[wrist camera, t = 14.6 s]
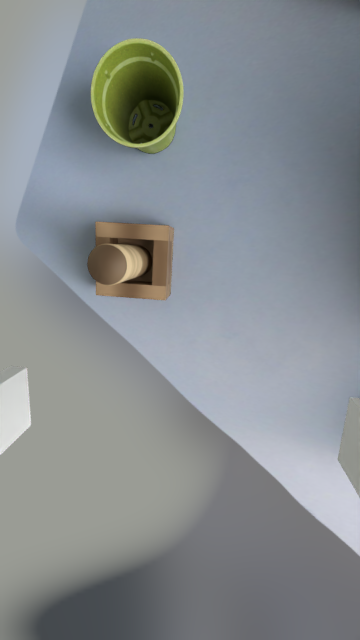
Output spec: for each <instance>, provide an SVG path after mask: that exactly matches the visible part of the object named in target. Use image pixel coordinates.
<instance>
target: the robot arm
mask: <svg viewBox="0 0 360 640" xmlns="http://www.w3.org/2000/svg"><path fill="white" fill-rule="evenodd" d="M30 426H31V416H30V402H29V389H28V375H27V367H18V366H9V367H7V368H5V369H4V370H2V371H0V455H1V454H2V453H3V452H4V451H5V450H6V449H7V448H8V447H9V446H10V445H11V444H12V443H13V442H14V441H15V440H16V439H17V438H18V437H19V436H20V435H21V434H22V433H23V432H25V430H27V429H28V428H29V427H30ZM338 461H339V463H340V464H341V466H342V468H343V470H344V471H345V473H346V475H347V476H348V478H349V480H350V482H351V483H352V485H353V487H354V488H355V490H356V492H357V494H358V495H359V497H360V398H351V397H350V399H349V404H348V409H347V414H346V419H345V424H344V429H343V434H342V439H341V445H340V450H339V455H338Z"/></svg>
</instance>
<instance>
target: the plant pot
mask: <svg viewBox="0 0 360 640" xmlns="http://www.w3.org/2000/svg"><path fill="white" fill-rule="evenodd" d="M91 103H92V108H93V112H94V115H95V117H96V119H97V121H98V123H99V125H100V126H101V128H102V129H103V131H104V132H105V133H106V134H107V135H108V136H109V137H110V138H111V139H113V140H114V141H116V142H117V143H119V144H122V145H124V146H127V147H132V148H138V149H139V150H141V151H143V152H145V153H151V154H153V153H157V152H160V151H162V150H164V149H165V148H167V147H168V146H169V144H170V143H171V142H172V140H173V138H174V135H175V130H176V123H177V121H178V118H179V116H180V113H181V109H182V104H183V82H182V77H181V74H180V70H179V68H178V66H177V64H176V62H175V60H174V59H173V57H172V56H171V55H170V54H169V52H168V51H167V50H166V49H164V48H163V47H162V46H160V45H159V44H157V43H155V42H153V41H150V40H147V39H128V40H125V41H122V42H120V43H118V44H116V45H114V46H113V47H112V48H111V49H109V50H108V51H107V52H106V53H105V54H104V56H103V57H102V58H101V60H100V61H99V63H98V65H97V67H96V69H95V71H94V74H93V79H92V83H91ZM154 104H157V105H159V106H161V107H162V108H163V110H160V109H159V108H157V107H154V106H153V105H154ZM135 114H138V116H137V118H136V120H135V123H134V125H133V117H134V116H135ZM150 124H152V125H153V127H152V128H150V127H149V125H150ZM140 143H142V144H140Z"/></svg>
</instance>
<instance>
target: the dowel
mask: <svg viewBox="0 0 360 640" xmlns="http://www.w3.org/2000/svg"><path fill="white" fill-rule="evenodd" d="M87 264H88V270H89V273H90V274H91V276H92V277H93V278H94V279H95V280H96V281H97V282H98V283H100V284H103V285H107V286H111V285H115V284H118V283H121V282H124V281H127V280H130V279H133V278H136V277H139V276H141V275H144V274H146V273H147V272H148V271H149V270H150V268H151V266H152V256H151V254H150V252H149V251H148V250H147V249H146V248H144V247H142V246H137V245H122V244H101V245H98V246H97V247H95V248H94V249H93V250H92V251H91V253H90V255H89V257H88V263H87Z"/></svg>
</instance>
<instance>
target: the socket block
mask: <svg viewBox="0 0 360 640" xmlns="http://www.w3.org/2000/svg"><path fill="white" fill-rule="evenodd" d="M173 237H174V228H172V227H170V226H165V225H147V224H129V223H111V222H96V247H97V246H98V245H101V244H122V245H137V246H142V247H144V248H146V249H147V250H148V251H149V252H150V254H151V256H152V266H151V268H150V270H149V271H148V272H147V273H146V274H144V275H141V276H139V277H136V278H133V279H130V280H127V281H124V282H121V283H118V284H115V285H111V286H107V285H103V284H100V283H98V282H97V281H96V295H102V296H116V297H129V298H142V299H155V300H166V299H167V298H168V297H169V296H170V294H171V275H172V256H173Z"/></svg>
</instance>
